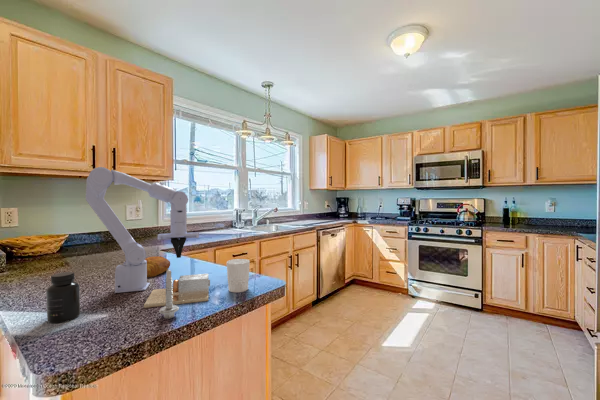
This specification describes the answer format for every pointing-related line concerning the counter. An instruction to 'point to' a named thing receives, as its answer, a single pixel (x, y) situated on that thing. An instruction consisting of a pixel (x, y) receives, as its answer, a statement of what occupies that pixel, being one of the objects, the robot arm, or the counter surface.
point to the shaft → (176, 286)
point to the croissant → (156, 265)
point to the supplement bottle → (63, 298)
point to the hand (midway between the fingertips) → (178, 257)
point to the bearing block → (182, 291)
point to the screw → (169, 298)
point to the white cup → (238, 275)
